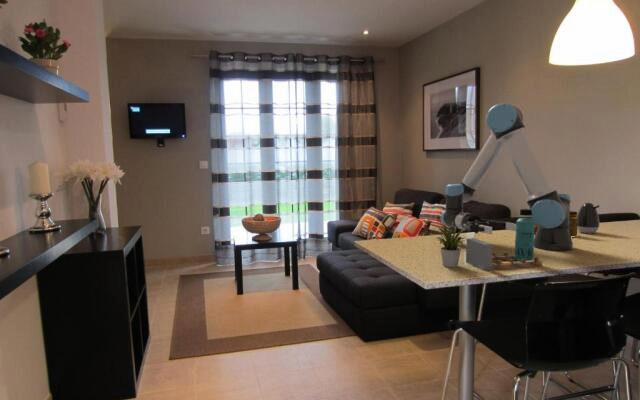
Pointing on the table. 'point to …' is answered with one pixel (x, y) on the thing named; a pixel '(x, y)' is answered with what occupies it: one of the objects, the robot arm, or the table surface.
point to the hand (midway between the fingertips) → (505, 229)
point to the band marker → (503, 262)
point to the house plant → (450, 246)
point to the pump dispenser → (588, 218)
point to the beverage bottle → (524, 236)
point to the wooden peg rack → (512, 265)
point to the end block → (479, 253)
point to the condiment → (573, 223)
